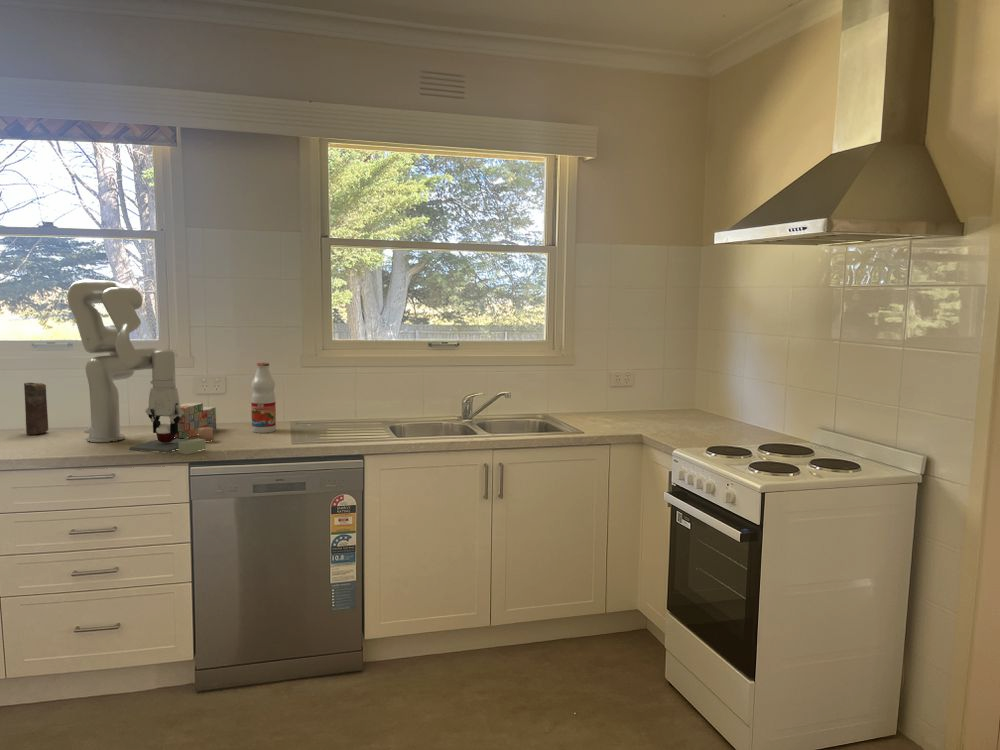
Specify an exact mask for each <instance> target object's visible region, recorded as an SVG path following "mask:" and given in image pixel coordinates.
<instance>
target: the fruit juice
mask: <svg viewBox="0 0 1000 750" xmlns="http://www.w3.org/2000/svg"><path fill="white" fill-rule="evenodd" d="M255 365H256V371H255V375H254V377H253V379H252V380H251V383H250V384H251V385H250V386H251V390H252V394H251V395H250V396H251V400H250V401H251V402H250V404H251V406H250V407H251V431H252V432H253V433H256V432H257V433H258V434H268V433H267V432H269V433H272V432H273V433H274V432H275V431H276V429H277V421H276V420H277V418H276V417H277V413H276V412H277V411H276V403H277V401H276V394H275V388H276V384H275V380H274V379H273V376H272V374H271V372H270V369H269V367H270V363H269V362H257V363H256V364H255Z"/></svg>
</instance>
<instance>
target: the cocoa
mask: <svg viewBox="0 0 1000 750" xmlns="http://www.w3.org/2000/svg"><path fill="white" fill-rule="evenodd" d="M150 411H151V413H152V416H153V418H154V420H155V423H156V425H157V429H156V433H155V434H156V438H157V439H156V440H159V441H160V442H162V443H167V442H171V441H173V440H174V439H178V438H177V437H178V436H179V432H178V436H177V437H175V434H170V424H169V423H167V422H166V423H161V424H160V425H159V426H158V423H157V421H156V419H155V416H154V414H153V412H152V410H151V409H150ZM174 437H175V438H174Z"/></svg>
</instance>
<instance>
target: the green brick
mask: <svg viewBox="0 0 1000 750" xmlns="http://www.w3.org/2000/svg"><path fill="white" fill-rule="evenodd" d="M206 443H207V442H205V440H204V439H199V437H197V438H192V439H187V441H181V442H178V445H179V450H178V453H179V454H185V455H188V454H192V453H193V454H194V453H197V452H196V451H198V450H202V449H206V448H207V445H206ZM206 450H207V449H206Z"/></svg>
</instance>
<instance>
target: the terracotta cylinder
mask: <svg viewBox="0 0 1000 750" xmlns="http://www.w3.org/2000/svg"><path fill="white" fill-rule="evenodd" d="M213 432H214V430H213V428H212V427H201V428H198V434H199V435H198V438H199V439H204V440H205V441H211V440H213V441H214V437H213V436H214V433H213Z"/></svg>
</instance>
